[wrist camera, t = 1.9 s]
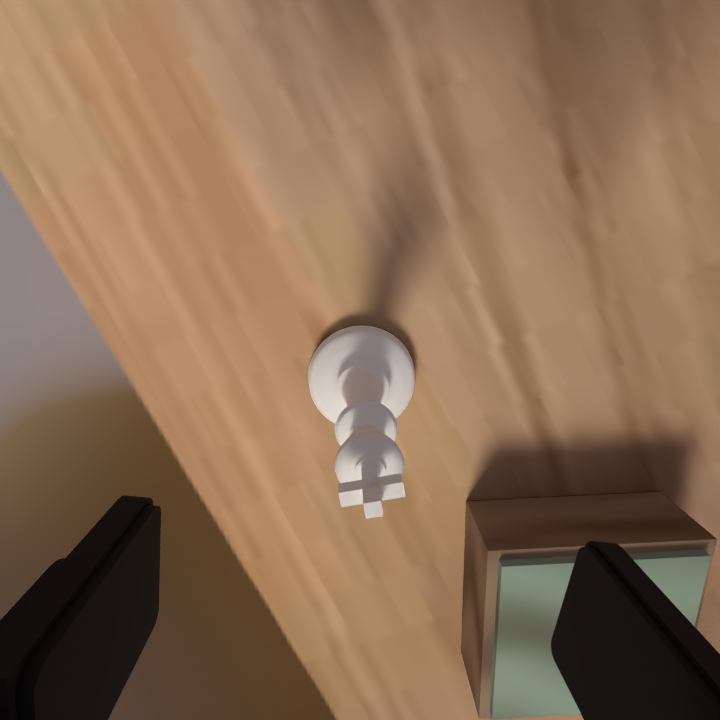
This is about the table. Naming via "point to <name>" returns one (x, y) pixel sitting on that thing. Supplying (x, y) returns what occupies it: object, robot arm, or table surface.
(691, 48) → the table surface
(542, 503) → the pedestal
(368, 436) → the chess piece
